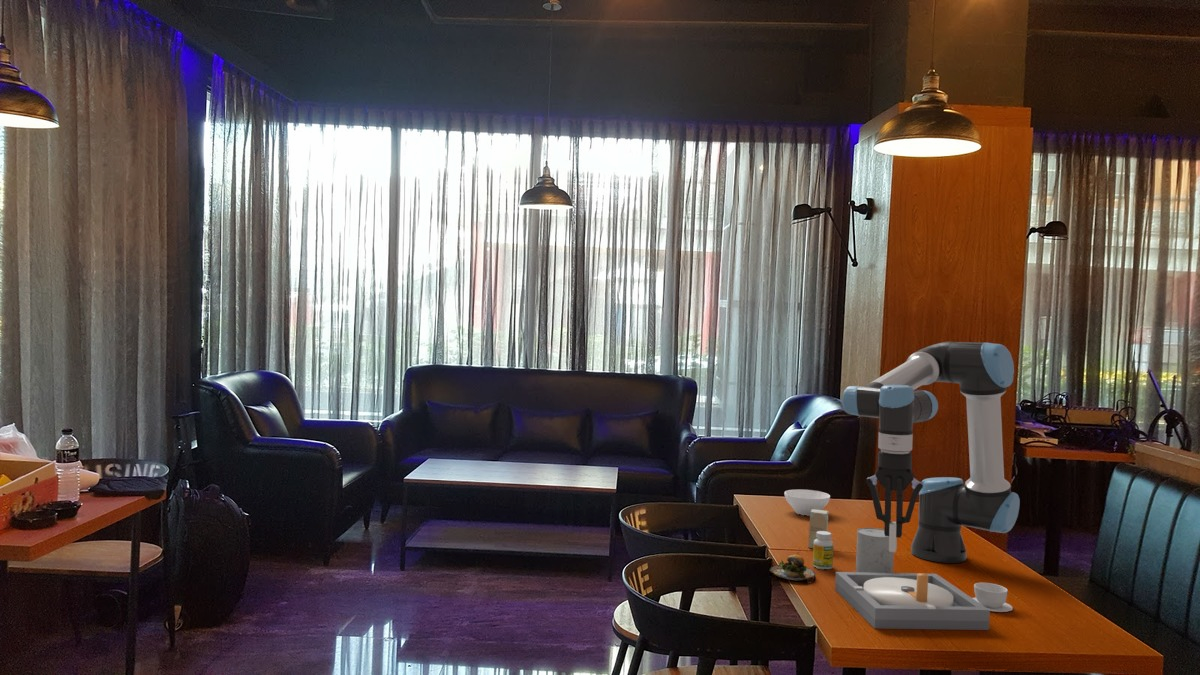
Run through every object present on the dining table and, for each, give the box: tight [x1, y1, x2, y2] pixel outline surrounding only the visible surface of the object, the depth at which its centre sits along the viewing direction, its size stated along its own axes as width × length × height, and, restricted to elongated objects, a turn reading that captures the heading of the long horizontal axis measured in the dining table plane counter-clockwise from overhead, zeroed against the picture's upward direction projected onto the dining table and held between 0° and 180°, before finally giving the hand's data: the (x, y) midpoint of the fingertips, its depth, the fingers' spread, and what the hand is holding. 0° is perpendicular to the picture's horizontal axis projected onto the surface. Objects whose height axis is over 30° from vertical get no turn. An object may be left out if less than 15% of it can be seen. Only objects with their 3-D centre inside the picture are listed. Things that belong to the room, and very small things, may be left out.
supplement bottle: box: [812, 531, 834, 570], centre depth 223 cm, size 5×5×10 cm
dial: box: [864, 572, 953, 606], centre depth 192 cm, size 20×20×8 cm
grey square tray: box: [834, 571, 991, 631], centre depth 192 cm, size 26×26×5 cm
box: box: [807, 509, 829, 549], centre depth 243 cm, size 5×4×11 cm
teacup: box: [972, 582, 1014, 613], centre depth 196 cm, size 10×10×5 cm
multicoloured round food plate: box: [769, 547, 817, 584], centre depth 214 cm, size 12×12×8 cm
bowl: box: [783, 488, 831, 517], centre depth 288 cm, size 16×16×7 cm
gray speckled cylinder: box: [855, 527, 895, 573], centre depth 215 cm, size 10×10×12 cm
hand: (892, 550), depth 190 cm, fingers closed
